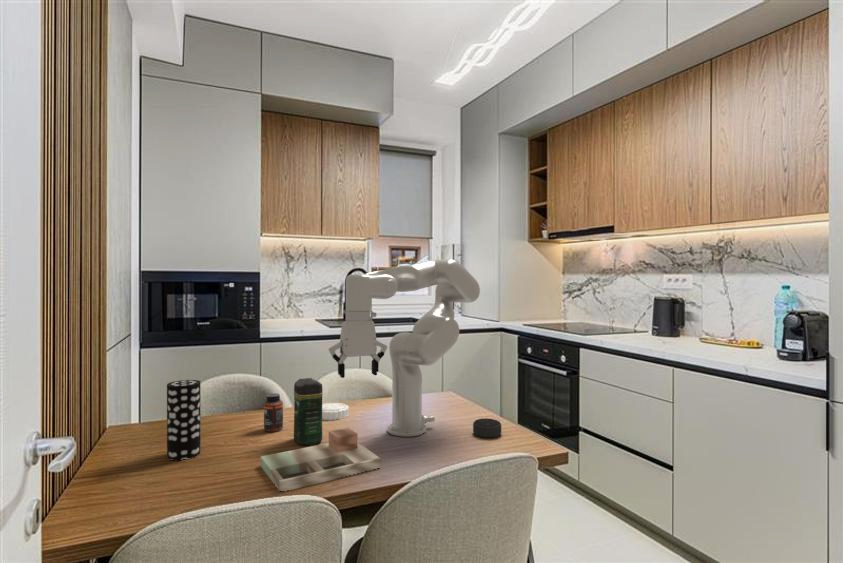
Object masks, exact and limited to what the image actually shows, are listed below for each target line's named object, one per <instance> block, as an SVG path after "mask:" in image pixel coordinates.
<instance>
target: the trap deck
mask: <svg viewBox="0 0 843 563" xmlns="http://www.w3.org/2000/svg"><path fill="white" fill-rule="evenodd" d="M259 461H260V467H261V469H262V470H263V471H264V473H265V474H266V475H267V477H268V478H269V479H270V481H271V482H272V483H273V485H274V484H275V485H274V486H275V487H277V488H278V489H279V490H280V491H285V492H288V491H287V490H289V491H292V490H296V489H301V488H304V487H308V486H313V485H317V484H318V485H319V484H320V483H321V484H322V483H325V482H330V481H333V480H338V479H342V478H341V477H343V478H346V477H345V476H347V477H350V476H349V475H351V476H354V475H353V474H355V475H358V474H357V473H359V474H362V473H361V472H363V473H366V472H365V471H367V472H370V470H371V471H374V470H373V469H376V470H378V469H377V468H380V469H382V458H381V457H380V456H378V455H376V454H375V453H374V452H372V451H370V449H368V448H367V447H365V446H364V445H362V444H361V443H359V442H358V448H356V449H351V450H347V451H342V452H336V451H334V450H333V449H332V448H331V447H330V446H329V442H328V443H322V444H318V445H316V444H315V445H310V446H306V447H301V448H296V449H292V450H287V451H286V450H285V451H282V452H277V453H272V454H266V455H261V456H260V460H259ZM337 478H338V479H337ZM277 488H276V489H277ZM278 489H277V490H278ZM279 490H278V491H279Z"/></svg>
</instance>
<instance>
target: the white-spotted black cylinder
mask: <svg viewBox="0 0 843 563" xmlns="http://www.w3.org/2000/svg"><path fill="white" fill-rule="evenodd" d="M201 383H202V382H201V380H197V379H183V380H176V381H170V382H168V383H166V459H167V458H168V459H167V460H169V459H173V460H181V459H187V458H191V459H193V458H192V457H194V458H196V457H195V456H197V455H198V456H200V455H201V453H200V452H201V449H202V448H201V443H202V442H201V438H202V437H201V432H202V431H201V430H202V429H201V425H202V424H201V421H202V419H201V411H202V410H201V406H202V405H201V399H202V398H201ZM199 454H200V455H199ZM198 456H197V457H198Z"/></svg>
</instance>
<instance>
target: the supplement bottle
mask: <svg viewBox="0 0 843 563" xmlns="http://www.w3.org/2000/svg"><path fill="white" fill-rule="evenodd" d="M283 428H284V403H283V401H282V400H281V396H280V393H269V394H267V395H266V401H264V404H263V430H264V431H265V432H268V433H274V432H279V431H281V430H283Z"/></svg>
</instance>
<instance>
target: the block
mask: <svg viewBox="0 0 843 563" xmlns="http://www.w3.org/2000/svg"><path fill="white" fill-rule="evenodd" d="M328 443H329V446H330V447H331V448H332V449H333V450H334V451H336V452H342V451H347V450H351V449H356V448H358V443H359V442H358V432H355V430H353V429H351V428H350V427H345V428H341V429H335V430H330V431H328Z"/></svg>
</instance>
